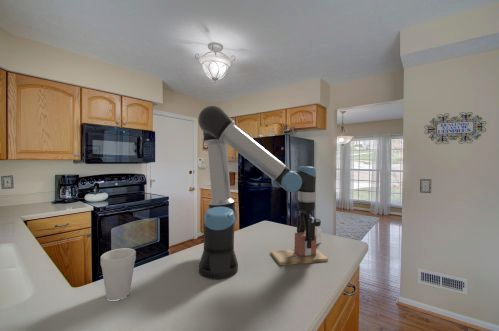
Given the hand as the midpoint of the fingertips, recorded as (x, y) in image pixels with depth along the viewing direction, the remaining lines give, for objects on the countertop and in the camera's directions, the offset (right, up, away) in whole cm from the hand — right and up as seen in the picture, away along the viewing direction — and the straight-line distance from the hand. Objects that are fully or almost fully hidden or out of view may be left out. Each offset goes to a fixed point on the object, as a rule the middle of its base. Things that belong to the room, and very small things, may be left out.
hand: (304, 252), depth 102 cm
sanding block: (0, -1, 0) cm, 1 cm away
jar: (+9, -2, +19) cm, 21 cm away
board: (-3, -2, -1) cm, 4 cm away
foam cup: (-66, -2, -32) cm, 73 cm away
